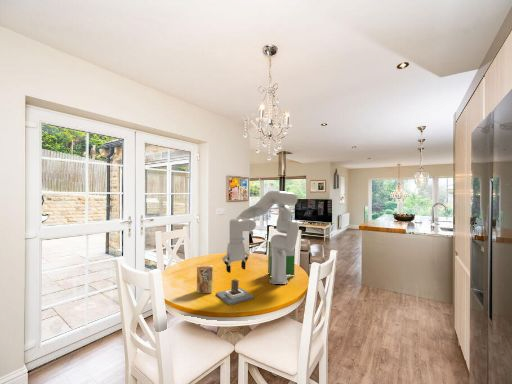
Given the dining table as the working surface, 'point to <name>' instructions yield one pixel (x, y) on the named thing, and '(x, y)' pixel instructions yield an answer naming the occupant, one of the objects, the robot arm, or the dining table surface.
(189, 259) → the dining table surface
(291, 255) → the hardback book
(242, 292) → the board
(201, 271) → the candy box
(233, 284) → the walnut pin
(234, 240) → the robot arm
